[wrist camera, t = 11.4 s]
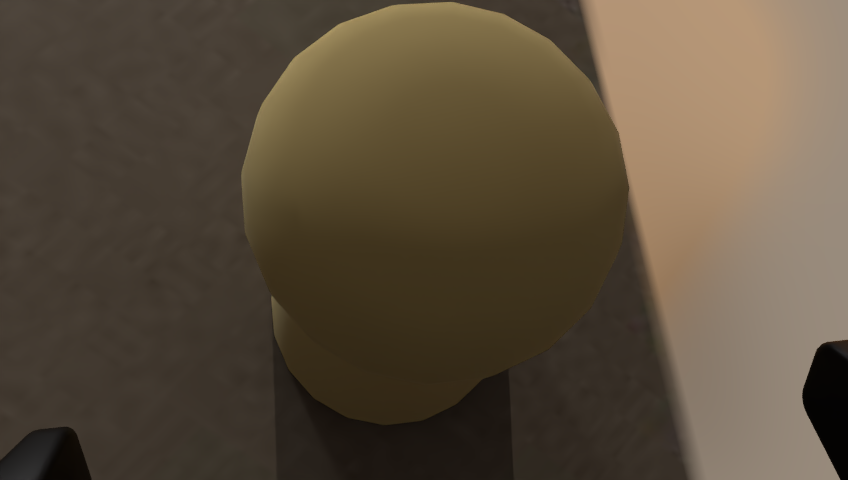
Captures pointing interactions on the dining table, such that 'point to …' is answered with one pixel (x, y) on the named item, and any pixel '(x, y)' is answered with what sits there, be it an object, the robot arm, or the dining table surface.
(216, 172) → the dining table surface
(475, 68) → the olive rounded upright piece
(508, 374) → the dining table surface
